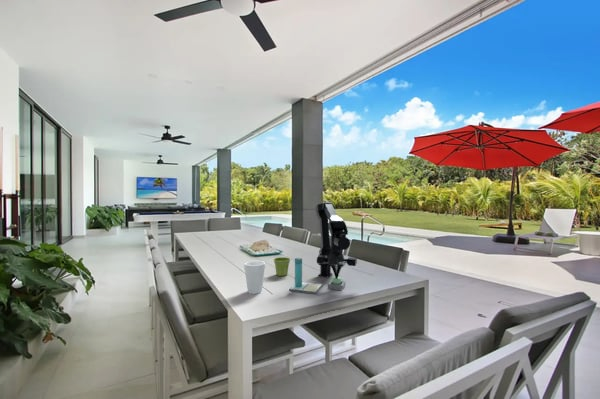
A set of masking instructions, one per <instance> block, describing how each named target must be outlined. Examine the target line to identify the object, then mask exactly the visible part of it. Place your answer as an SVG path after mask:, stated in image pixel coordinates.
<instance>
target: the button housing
mask: <svg viewBox="0 0 600 399" xmlns="http://www.w3.org/2000/svg"><path fill="white" fill-rule="evenodd" d="M345 287H346V280H345V281H343V280H341V285H338V284H332V279H331V280H330V281H329V282H328V284H327V289H330V290H331V289H332V290H333V289H334V290H340V291H343V290H344V288H345Z"/></svg>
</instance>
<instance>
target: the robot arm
mask: <svg viewBox="0 0 600 399" xmlns="http://www.w3.org/2000/svg"><path fill="white" fill-rule="evenodd" d="M314 210H315V213H316V217H317V218H318V220H319V225H320V242H321V247H320V248H319V250H318V256H317V257H316V264H317V265H318V266H319V268H320V271H319V272H320V273H319V274H318V275H317V276H318V277H324V278H325V277H326V278H327V277H328V278H330V277H332V275H333V274H334V277H335V278H338V277H340V276H339V275H340V272H341V270H342V268H343V267H344V266H346V265H348V266H349V267H355V266H357V264H358V258H357V257H354V256H353V257H352V256H350V257H347V258H344V255H345V254H344V250H348V249H349V248H350V245H351V241H350V239H349V238H348V237H347V236H348V235H349V233H348V232H349V230H348V227H347V224H346V222H345V220H344V219H343V218H342V217H341V216H339V215H338V214H337V212H336V210H335V208H334V205H333V202H331V201H323V202H322V203H318V204H316V205H315V209H314ZM331 270H332V271H333V272H331Z"/></svg>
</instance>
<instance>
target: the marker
mask: <svg viewBox="0 0 600 399" xmlns="http://www.w3.org/2000/svg"><path fill="white" fill-rule="evenodd" d="M302 282H303V258H302V257H296V258H294V285H295V287H302Z"/></svg>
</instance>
